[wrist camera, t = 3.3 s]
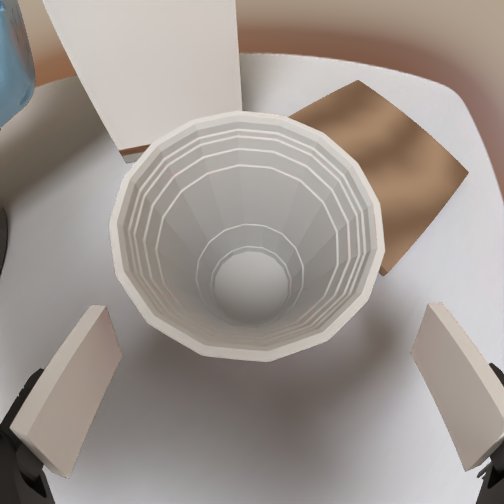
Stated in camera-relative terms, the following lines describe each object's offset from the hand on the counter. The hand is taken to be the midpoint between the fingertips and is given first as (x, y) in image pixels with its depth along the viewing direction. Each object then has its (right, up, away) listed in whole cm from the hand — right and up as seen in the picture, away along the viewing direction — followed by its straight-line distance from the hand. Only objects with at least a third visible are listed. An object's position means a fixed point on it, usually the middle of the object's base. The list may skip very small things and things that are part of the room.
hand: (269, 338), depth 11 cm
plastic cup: (0, +1, +11) cm, 11 cm away
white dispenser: (-7, +17, +17) cm, 25 cm away
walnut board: (+10, +12, +14) cm, 22 cm away
